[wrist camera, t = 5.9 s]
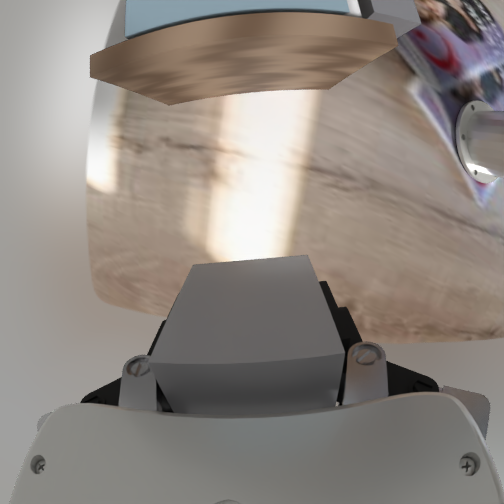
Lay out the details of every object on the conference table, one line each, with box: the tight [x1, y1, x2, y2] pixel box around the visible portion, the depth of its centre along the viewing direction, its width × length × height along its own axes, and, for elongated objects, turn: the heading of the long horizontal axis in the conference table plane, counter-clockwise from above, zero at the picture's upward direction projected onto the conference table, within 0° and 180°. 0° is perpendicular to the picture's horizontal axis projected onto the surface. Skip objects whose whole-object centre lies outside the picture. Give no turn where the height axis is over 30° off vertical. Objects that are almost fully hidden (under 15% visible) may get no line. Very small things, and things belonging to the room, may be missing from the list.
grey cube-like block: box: [148, 255, 345, 415], centre depth 10 cm, size 5×5×6 cm
